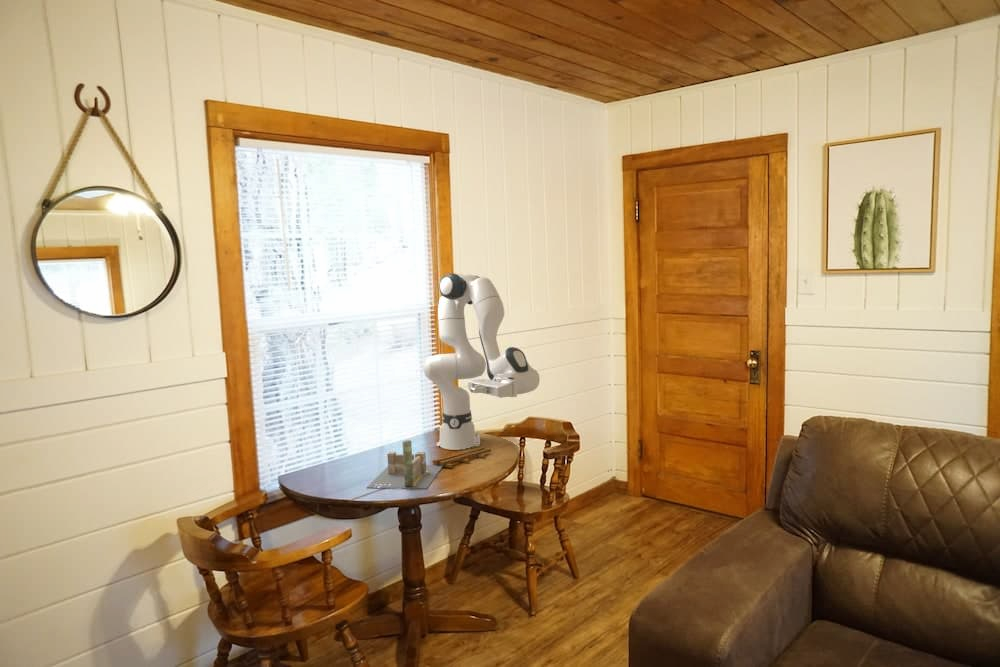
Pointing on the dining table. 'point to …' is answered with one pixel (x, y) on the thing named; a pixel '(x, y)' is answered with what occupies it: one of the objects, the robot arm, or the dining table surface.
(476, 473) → the dining table surface
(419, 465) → the swinging fence section
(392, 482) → the board
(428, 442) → the dining table surface
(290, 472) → the dining table surface
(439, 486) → the dining table surface
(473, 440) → the robot arm
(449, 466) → the decorative fence
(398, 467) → the fixed fence section
